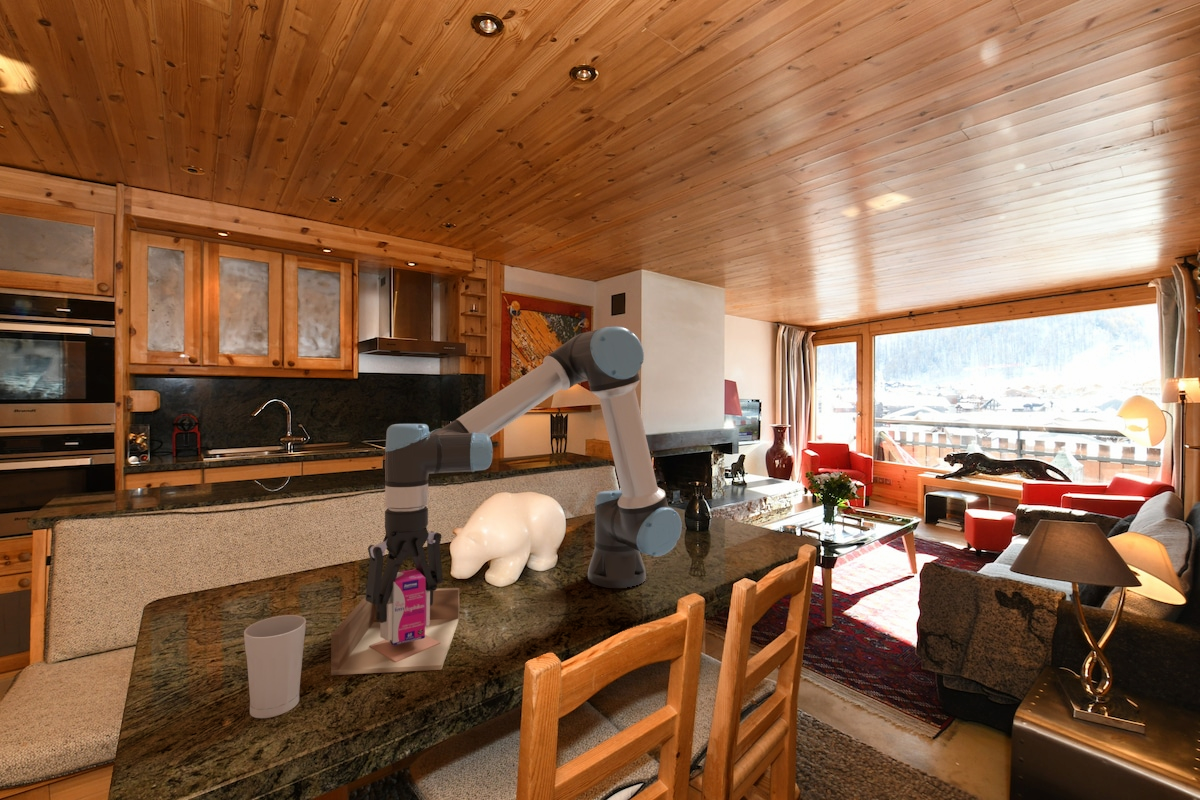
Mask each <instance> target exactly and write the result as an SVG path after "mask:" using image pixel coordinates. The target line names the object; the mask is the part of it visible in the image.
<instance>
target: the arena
mask: <svg viewBox="0 0 1200 800" xmlns="http://www.w3.org/2000/svg"><path fill="white" fill-rule="evenodd" d="M365 597H366V595H365V596H363V598H362V599H361V600H360V601H359V602H358V604H357V605H356V606H355V607H354V608H353V609H352V610H351V612H350V613H349V614H348V615H347V616H346V617H345V618H344V620H343V621H342V622H341V623H340V624H339V625H338V627H337V628H336V629H335V630H334V631H333V632H332V634H331V635H330V636H331V638H330V639H331V640H330V641H331V642H330V648H331V649H330V653H331V654H330V657H331V658H330V676H342V675H344V676H345V675H358V674H359V675H362V674H374V673H375V674H380V673H399V672H401V673H402V672H421V671H422V672H423V671H437V670H439V671H440V670H442V669H443V667H444V663H445V661H446V658H447V656H448V655H447V654H448V653H449V649H450V647H451V644H452V641H453V638H454V635H455V633H456V629H457V627H458V625H459V622H460V587H445V588H442V587H441V588H437V589H436V590H434V591H433V604H432V605H431V606H430V625H429V626H425V638H423V639H418V640H413V641H409V642H405V643H401V644H398V645H394V646H393V645H392V644H391V642H390V641H387V640H385V639H383V638H382V637H380V622H379V621H377V619H376V604H372V603H370V602H368V601H366V600H365Z"/></svg>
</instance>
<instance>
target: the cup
mask: <svg viewBox="0 0 1200 800" xmlns="http://www.w3.org/2000/svg"><path fill="white" fill-rule="evenodd" d="M306 626H307V619H306V618H305V617H304V616H302V615H297V614H284V615H277V616H272V617H267V618H264V619H261V620H258V621H256V622H254V623H252V624H250V625H249V626H247V627H246V628H245V629H244V630H243V637H244V639H243V640H244V649H245V650H244V651H245V656H246V664H247V665H246V667H247V677H248V689H249V715H250V716H251V717H253V718H256V719H268V718H273V717H277V716H280V715H283V714H285V713H287V712H289V711H290V710H292V709H294V708H295V707H296V706H297V705H298V704H299V702H300V688H301V686H300V685H301V677H302V676H301V675H302V674H301V673H302V667H303V665H302V664H303V655H304V643H305V636H306Z"/></svg>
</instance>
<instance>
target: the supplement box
mask: <svg viewBox="0 0 1200 800" xmlns="http://www.w3.org/2000/svg"><path fill="white" fill-rule="evenodd" d="M425 581H426V580H425V577H424V576H423V575H422V574H421V573H420V571H418V570H417V569H416V568H413V569H409V570H408V569H407V570H404V571H398V573H397V576H396V579H395V582H393V589H392V592H391V595H390V598H389V602H391V603H393V615H392V640H390V642H391V644H392V645H393V646H394V645H398V644H401V643H405V642H409V641H413V640H418V639H423V638H425Z"/></svg>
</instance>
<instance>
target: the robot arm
mask: <svg viewBox="0 0 1200 800" xmlns="http://www.w3.org/2000/svg"><path fill="white" fill-rule="evenodd" d="M644 353H645V352H644V348H643V346H642V343H641V340H640V339H639V338H638V336H637V335H636V334H634V332H632V331H631V330H630V329H628V328H625V327H623V326H604V327H601V328H598V329H594V330H590V331H584V332H582V333H581V332H580V333H579V334H577V335H575V336H573V337H572V338H571V339H569V340H567V341H566V342H565V343H564V344H561V345H560V346H559V347H558V348H556V349H554V351H552V352H551V353H549V354H547V355H546V356H545V357H543V360H542V364H540V365H538V366H537V367H535V368H534V369H532V370H530V371H529V372H526V374H525V375H523V376H521V377H519V378H518V379H517V380H515V381H513V382H512V383H511V384H509V385H507V386H505V387H504V388H503V389H501V390H499V391H498V392H496V393H495V394H493V395H492V396H490V397H488V398H487V399H485V400H484V401H483V402H481V403H479V404H478V405H476V406H475V407H473V408H472V409H470V410H468V411H467V412H465V413H464V414H462V415H460V416H459V417H458V418H456V419H455V420H453V421H452V422H450V423H448V424H447V425H445V426H444V427H442V428H441V427H440V428H437V429H434V430H432V431H430V428H429V425H428V424H426V423H395V424H391V425H389V426H388V427H387V429H386V432H385V433H386V438H385V448H384V451H385V453H384V455H385V457H384V461H385V463H384V464H385V465H384V466H385V467H384V469H385V472H384V474H385V476H384V479H385V482H384V485H385V486H384V489H385V493H384V495H385V496H384V499H385V500H384V501H385V502H384V507H386V508H387V509H386V510H385V511H384V531H385V535H384V538H383V541H382V542H380V543H378V544H376V545H375V544H374V545H373V544H370V545H369V546H368V548H367V551H368V555H369V565H368V572H367V573H368V574H367V582H366V591H365V596H366V597H365V596H364V597H365V600H366V601H368V602H370V603H372V604H376V619H377V621H379V622H380V637H382V638H383V639H385V640H387V641H390V640H392V615H393V603H391V602H389V598H390V595H391V592H392V589H393V582H395V579H396V576H397V573H398V572H399V570H400V567H402V565H403V563H404V560H407V559H408V558H412V561H413V563H414V566H415V569H417V570H418V571H420V573H421V574H422V575H423V576H424V577H425V580H426V581H425V626H429V625H430V606H431V605H432V604H433V591H434V590H436V589H438V585H441V584H442V583H443V580H444V579H443V576H444V575H443V568H442V565H443V564H442V558H441V557H442V556H441V548H440V546H441V540H442V534H441V533H440V532H435V531H432V530H431V531H428V529H427V526H428V525H429V508H428V507H427V505H428V504H429V474H444V473H462V472H463V473H464V472H465V473H466V472H472V473H474V472H478V471H485V470H487V469H489V468H490V466H491V464H492V462H493V455H494V453H493V451H494V450H493V443H492V440H491V437H493V436H494V435H496V434H497V433H498V432H500V431H501V430H503V429H505V428H506V427H507V426H509V425H510V424H512V423H513V422H514V421H516V420H518V419H519V418H521V417H522V416H523V415H525V414H526V413H528V412H530V411H531V410H533V409H534V408H535V407H537V406H538V405H539V404H541V403H543V402H544V401H545V400H547V399H548V398H550V397H551V396H553V395H554V394H556V393H557V392H559V391H560V390H561V391H568V390H569V389H571V388H572V387H574V386H577V384H580V383H583V382H587V381H588V382H587V383H588V387H589V391H590V393H591V394H593V395H595V396H596V397H597V398H598V400H599V404H600V409H601V411H602V417H603V420H604V426H605V429H606V433H607V437H608V441H609V442H608V443H609V446H610V450H611V455H612V458H613V459H612V460H613V462H614V466H615V471H616V475H617V478H618V479H617V480H618V483H619V487H620V489H617V490H616V489H615V490H614V489H613V490H604V491H600V492H598V493H597V494H595V495H596V496H595V501H594V502H595V503H594V549H593V553H592V556H591V559H590V561H589V566H588V569H587V579H588V582H589V583H591V584H593V585H595V586H599V587H602V588H608V589H628V588H627V587H630V588H633V587H632V586H635V587H637V586H636V585H638V586H640V585H639V584H641V583H642V584H644V583H645V582H646V580H645V579H647V578H646V573H647V571H646V567H645V564H644V561H643V558H642V555H641V554H644V555H647V556H651V557H661V556H664V555H667V554H669V552H671V551H672V550H673V549H674V548H675V547H676V545H677V543H678V540H679V539H680V538H681V535H682V529H683V527H682V525H683V524H682V519H681V516H680V513H679V512H677V511H676V510H675V509H674V508H672V507H670V506H669V504H668V500H667V494H666V491H665V490H664V489H662V488H660V487H658V484H657V479H656V475H655V470H654V466H653V461H652V457H651V452H650V447H649V445H648V440H647V435H646V432H645V427H644V423H643V418H642V413H641V410H640V409H641V408H640V405H639V401H638V400H639V399H638V396H637V392H636V389H637V387H638V385H639V383H640V382H641V379H640V374H639V372H640V370H641V369H642V365H643V363H644V358H645V356H644V355H645V354H644ZM425 543H426V547H427V550H426V551H427V554H426V552H425V548H424V545H425ZM386 550H387V552H388V553H387V556H386V560H385V561H386V564H385V567H383V566H384V556H385V555H386ZM426 557H427V558H428V562H427V558H426ZM383 569H384V570H383ZM644 581H645V582H644ZM643 582H644V583H643ZM642 584H641V585H642Z"/></svg>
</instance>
